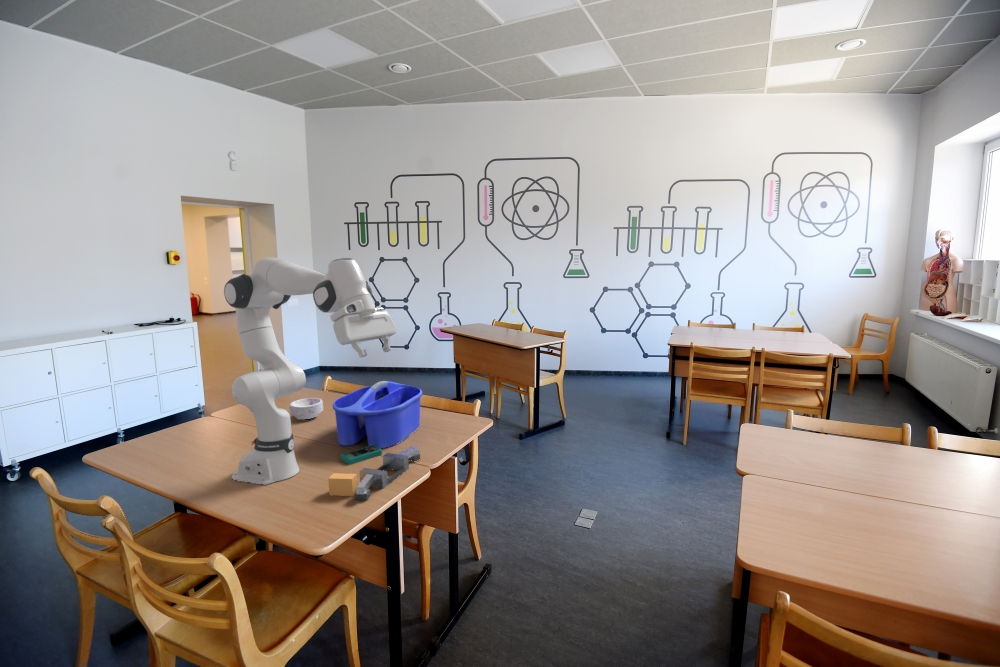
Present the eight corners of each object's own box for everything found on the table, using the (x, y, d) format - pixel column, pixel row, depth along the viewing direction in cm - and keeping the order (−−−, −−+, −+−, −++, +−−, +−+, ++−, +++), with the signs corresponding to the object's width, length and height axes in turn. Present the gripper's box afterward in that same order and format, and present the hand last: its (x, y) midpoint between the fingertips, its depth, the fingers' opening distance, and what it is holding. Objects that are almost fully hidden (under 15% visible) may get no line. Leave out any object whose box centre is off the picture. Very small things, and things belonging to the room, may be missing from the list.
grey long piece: (365, 502, 160) (364, 487, 160) (341, 498, 163) (340, 483, 163) (422, 458, 194) (421, 446, 194) (402, 455, 198) (401, 443, 197)
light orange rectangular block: (329, 495, 166) (328, 478, 165) (334, 490, 170) (333, 473, 169) (353, 496, 165) (351, 479, 164) (357, 490, 169) (356, 473, 168)
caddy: (434, 420, 240) (432, 372, 236) (388, 456, 198) (386, 398, 194) (375, 415, 249) (372, 369, 245) (319, 449, 206) (315, 393, 203)
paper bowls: (283, 421, 242) (282, 405, 240) (304, 411, 256) (303, 396, 255) (310, 423, 237) (309, 407, 236) (330, 414, 252) (329, 398, 250)
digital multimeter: (383, 455, 199) (383, 448, 199) (348, 466, 190) (348, 458, 189) (374, 450, 205) (374, 443, 204) (340, 460, 195) (339, 453, 194)
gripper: (378, 311, 157) (394, 352, 155) (325, 317, 139) (342, 363, 138) (391, 303, 153) (407, 345, 152) (338, 308, 136) (356, 355, 135)
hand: (376, 353), depth 145 cm, fingers open, 8 cm apart
